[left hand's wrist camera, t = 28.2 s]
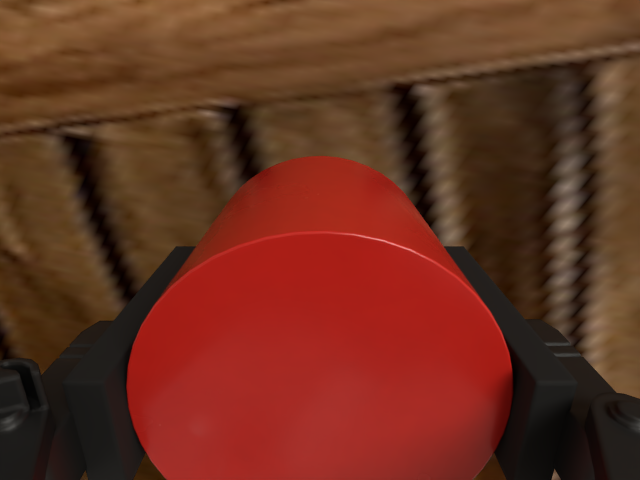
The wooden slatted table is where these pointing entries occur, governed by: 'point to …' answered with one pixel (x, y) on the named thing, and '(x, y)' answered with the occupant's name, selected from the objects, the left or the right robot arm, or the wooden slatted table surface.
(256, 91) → the wooden slatted table surface
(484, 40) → the wooden slatted table surface
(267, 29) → the wooden slatted table surface
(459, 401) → the can
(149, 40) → the wooden slatted table surface
